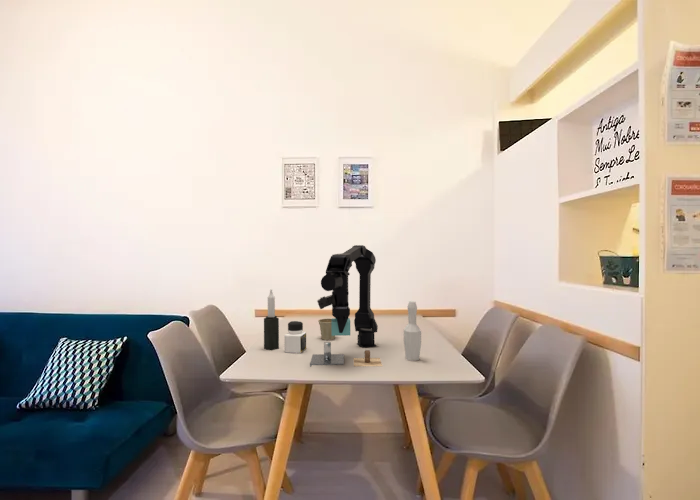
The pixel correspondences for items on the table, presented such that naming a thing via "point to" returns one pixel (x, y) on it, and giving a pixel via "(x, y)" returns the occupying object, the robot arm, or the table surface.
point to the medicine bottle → (295, 338)
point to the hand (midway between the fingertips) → (340, 330)
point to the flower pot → (326, 329)
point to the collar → (336, 330)
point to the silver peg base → (327, 357)
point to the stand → (367, 360)
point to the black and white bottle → (271, 326)
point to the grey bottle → (412, 334)
